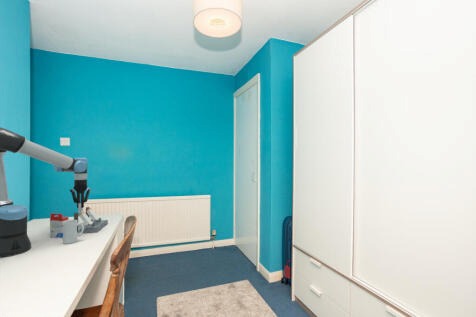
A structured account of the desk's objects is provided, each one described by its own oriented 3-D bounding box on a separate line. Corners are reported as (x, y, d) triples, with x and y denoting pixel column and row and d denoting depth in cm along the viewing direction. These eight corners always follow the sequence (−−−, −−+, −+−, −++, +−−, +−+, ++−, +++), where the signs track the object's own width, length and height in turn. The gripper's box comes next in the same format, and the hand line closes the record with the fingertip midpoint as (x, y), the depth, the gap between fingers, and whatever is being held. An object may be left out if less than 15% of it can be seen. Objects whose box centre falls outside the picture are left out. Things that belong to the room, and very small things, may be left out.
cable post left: (73, 233, 146) (73, 215, 146) (69, 233, 146) (69, 215, 146) (78, 230, 153) (79, 212, 153) (74, 230, 153) (75, 212, 153)
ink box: (68, 235, 143) (69, 212, 143) (61, 237, 138) (62, 213, 138) (56, 234, 144) (56, 211, 144) (49, 237, 139) (49, 213, 139)
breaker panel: (96, 232, 149) (97, 224, 149) (79, 233, 147) (79, 225, 147) (107, 223, 169) (107, 216, 169) (92, 224, 167) (93, 217, 167)
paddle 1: (90, 224, 150) (80, 212, 149) (87, 226, 150) (78, 214, 148) (93, 222, 154) (83, 211, 153) (90, 224, 154) (81, 213, 153)
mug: (61, 245, 127) (61, 223, 127) (63, 241, 133) (64, 220, 133) (83, 242, 132) (83, 221, 132) (84, 238, 138) (84, 218, 138)
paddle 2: (96, 220, 161) (88, 209, 160) (94, 222, 160) (85, 210, 159) (99, 218, 165) (90, 207, 164) (96, 220, 165) (88, 209, 164)
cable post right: (88, 223, 168) (88, 207, 169) (84, 223, 168) (85, 207, 168) (94, 220, 179) (94, 204, 179) (90, 220, 178) (91, 204, 179)
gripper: (93, 178, 166) (92, 210, 166) (72, 179, 163) (72, 211, 163) (88, 179, 159) (88, 213, 158) (67, 179, 155) (67, 214, 155)
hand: (80, 212), depth 161 cm, fingers closed
